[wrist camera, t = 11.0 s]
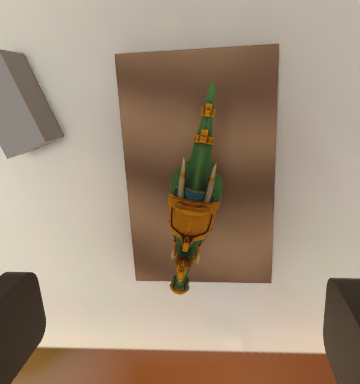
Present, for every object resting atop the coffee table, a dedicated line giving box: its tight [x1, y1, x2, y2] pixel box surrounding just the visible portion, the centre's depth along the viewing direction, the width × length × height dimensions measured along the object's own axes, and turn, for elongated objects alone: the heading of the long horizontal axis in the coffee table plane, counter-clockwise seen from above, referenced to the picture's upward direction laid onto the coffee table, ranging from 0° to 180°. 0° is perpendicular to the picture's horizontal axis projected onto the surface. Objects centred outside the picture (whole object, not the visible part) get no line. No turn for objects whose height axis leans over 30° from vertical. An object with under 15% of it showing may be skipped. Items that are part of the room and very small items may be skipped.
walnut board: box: [115, 44, 279, 283], centre depth 24 cm, size 16×10×1 cm, turn 3°
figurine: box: [168, 83, 223, 294], centre depth 19 cm, size 3×12×8 cm, turn 172°
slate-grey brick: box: [0, 50, 64, 159], centre depth 23 cm, size 6×3×3 cm, turn 23°
